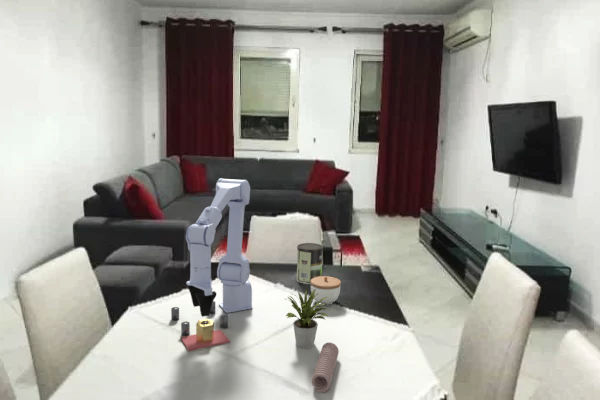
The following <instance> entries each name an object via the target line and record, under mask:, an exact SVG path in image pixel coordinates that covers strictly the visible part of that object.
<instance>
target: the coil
mask: <svg viewBox="0 0 600 400" xmlns="http://www.w3.org/2000/svg"><path fill="white" fill-rule="evenodd" d="M339 350H340V349H339V348H338V346H337V344H335V343H333V342H326V343H324V344H323V345H322V348H321V350H320V353H319V356H318V360H317V361H316V362H317V363H316V365H315V368H314V372H313V375H312V377H311V385H312V386H313V387H314V389H316V392H317V393H326V392H328V390H330V387H331V384H332V380H333V375H334V373H335V368H336V364H337V361H338V357H339V352H340V351H339Z"/></svg>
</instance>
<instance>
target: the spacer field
mask: <svg viewBox="0 0 600 400" xmlns="http://www.w3.org/2000/svg"><path fill="white" fill-rule="evenodd" d="M170 312H171V313H170V314H171V317H170V318H171V320H172V321H179V320H180V307H177V306H173V307H171V308H170ZM211 314H212V315H213V314H216V301H215V300H213V303H212V306H211V310H210V314H209V315H211ZM180 326H181V328H180V329H181V330H180V333H181V337H185V336H190V334H191V332H190V322H189V321H183V322H181V323H180ZM219 328H220V329H227V328H229V315H228V314H220V316H219Z"/></svg>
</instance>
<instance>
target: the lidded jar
mask: <svg viewBox="0 0 600 400" xmlns="http://www.w3.org/2000/svg"><path fill="white" fill-rule="evenodd" d="M341 284H342V281H341V280H340V279H339V278H336V277H332V276H327V275H324V276H323V275H322V276H319V277H315V278H312V279H311V284H310V292H311V293H312V291H313V290H315V289H316V291H315V293H314V296H315V295H316V294H317V296H316V297H315V298H314V299H313V300H315V302H316V301H317V302H318V301H320V300H321V299H322V298H325V297H327V298H325V299H323V300H322V301H321V302H320V303H321V304H331V303H333V302H334V303H335V302H336V301H337V300H338V298H339V295H340V292H341V286H342V285H341ZM311 293H310V294H311ZM317 302H316V303H317ZM334 303H333V304H334ZM331 305H332V304H331Z"/></svg>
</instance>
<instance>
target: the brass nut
mask: <svg viewBox="0 0 600 400" xmlns="http://www.w3.org/2000/svg"><path fill="white" fill-rule="evenodd" d="M195 327H196V328H195V333H196V341H198V342H201V343H206V342H211V341H212V340H213V338H214V331H215V322H214V320H212V319H209V318H205V319H198V321H196V325H195Z"/></svg>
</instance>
